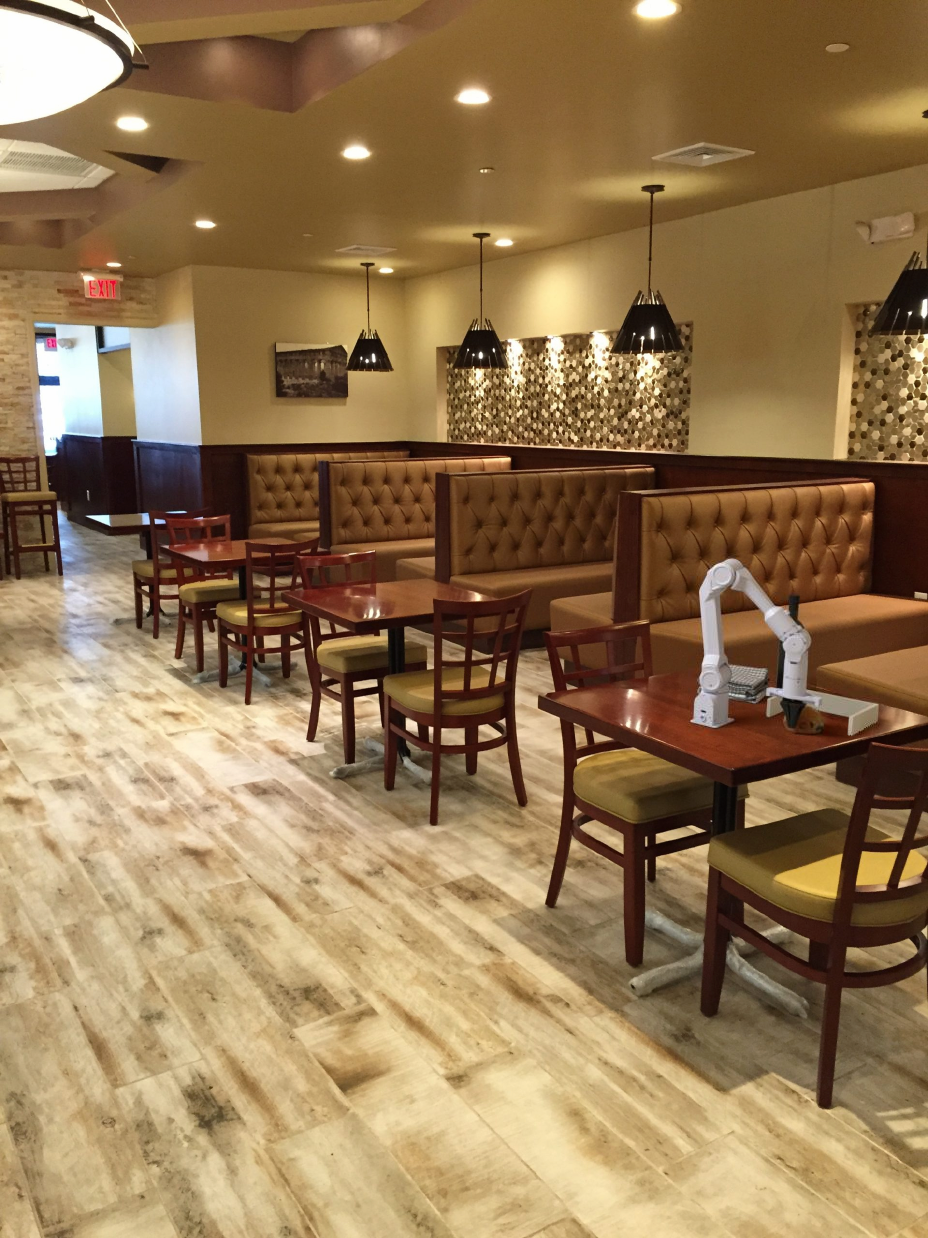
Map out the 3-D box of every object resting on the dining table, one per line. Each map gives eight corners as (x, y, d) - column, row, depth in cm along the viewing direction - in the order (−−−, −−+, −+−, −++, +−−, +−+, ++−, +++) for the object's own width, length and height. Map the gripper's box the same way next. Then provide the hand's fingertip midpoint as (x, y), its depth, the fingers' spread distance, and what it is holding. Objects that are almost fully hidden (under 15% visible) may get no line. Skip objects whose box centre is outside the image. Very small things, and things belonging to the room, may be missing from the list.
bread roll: (813, 736, 267) (807, 706, 269) (834, 731, 258) (828, 700, 259) (780, 739, 265) (774, 709, 267) (800, 734, 255) (794, 703, 257)
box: (851, 735, 256) (852, 717, 255) (766, 716, 273) (767, 698, 272) (877, 722, 268) (878, 704, 266) (794, 704, 284) (795, 687, 283)
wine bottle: (774, 694, 294) (780, 594, 288) (785, 690, 298) (791, 592, 292) (790, 698, 290) (796, 597, 284) (802, 695, 293) (808, 595, 287)
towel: (713, 684, 306) (714, 660, 304) (772, 693, 296) (774, 668, 294) (695, 696, 293) (696, 670, 292) (756, 706, 284) (758, 679, 282)
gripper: (829, 679, 253) (825, 729, 256) (776, 668, 263) (773, 717, 266) (816, 684, 248) (812, 736, 251) (763, 673, 258) (760, 723, 261)
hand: (791, 727), depth 258 cm, fingers closed
